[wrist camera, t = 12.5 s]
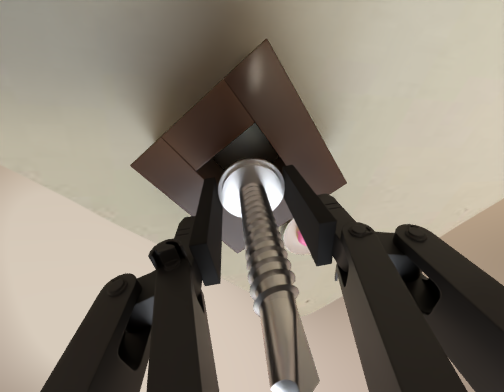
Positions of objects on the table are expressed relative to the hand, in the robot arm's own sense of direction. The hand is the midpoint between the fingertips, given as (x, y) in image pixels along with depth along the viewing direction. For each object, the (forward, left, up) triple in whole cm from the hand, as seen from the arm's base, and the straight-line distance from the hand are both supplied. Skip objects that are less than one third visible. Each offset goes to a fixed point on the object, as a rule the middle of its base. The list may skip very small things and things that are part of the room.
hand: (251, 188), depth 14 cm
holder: (0, 0, -8) cm, 8 cm away
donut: (+1, +15, -9) cm, 17 cm away
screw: (0, 0, -2) cm, 2 cm away
